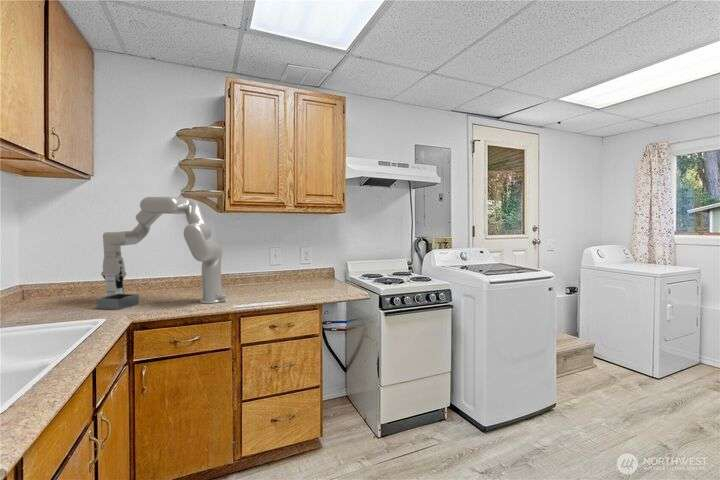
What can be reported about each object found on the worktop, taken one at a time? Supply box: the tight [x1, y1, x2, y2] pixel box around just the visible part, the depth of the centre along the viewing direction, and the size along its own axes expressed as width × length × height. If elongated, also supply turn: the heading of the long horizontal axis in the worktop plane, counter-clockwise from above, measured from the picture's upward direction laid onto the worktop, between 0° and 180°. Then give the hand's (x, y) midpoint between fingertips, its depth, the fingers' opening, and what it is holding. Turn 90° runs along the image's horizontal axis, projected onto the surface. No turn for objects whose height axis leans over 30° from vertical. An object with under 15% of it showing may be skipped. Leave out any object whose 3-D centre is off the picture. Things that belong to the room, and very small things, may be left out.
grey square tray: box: [96, 293, 140, 311], centre depth 179 cm, size 12×12×5 cm
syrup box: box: [104, 274, 125, 297], centre depth 191 cm, size 6×6×14 cm
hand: (114, 287), depth 191 cm, fingers closed on syrup box, 6 cm apart
